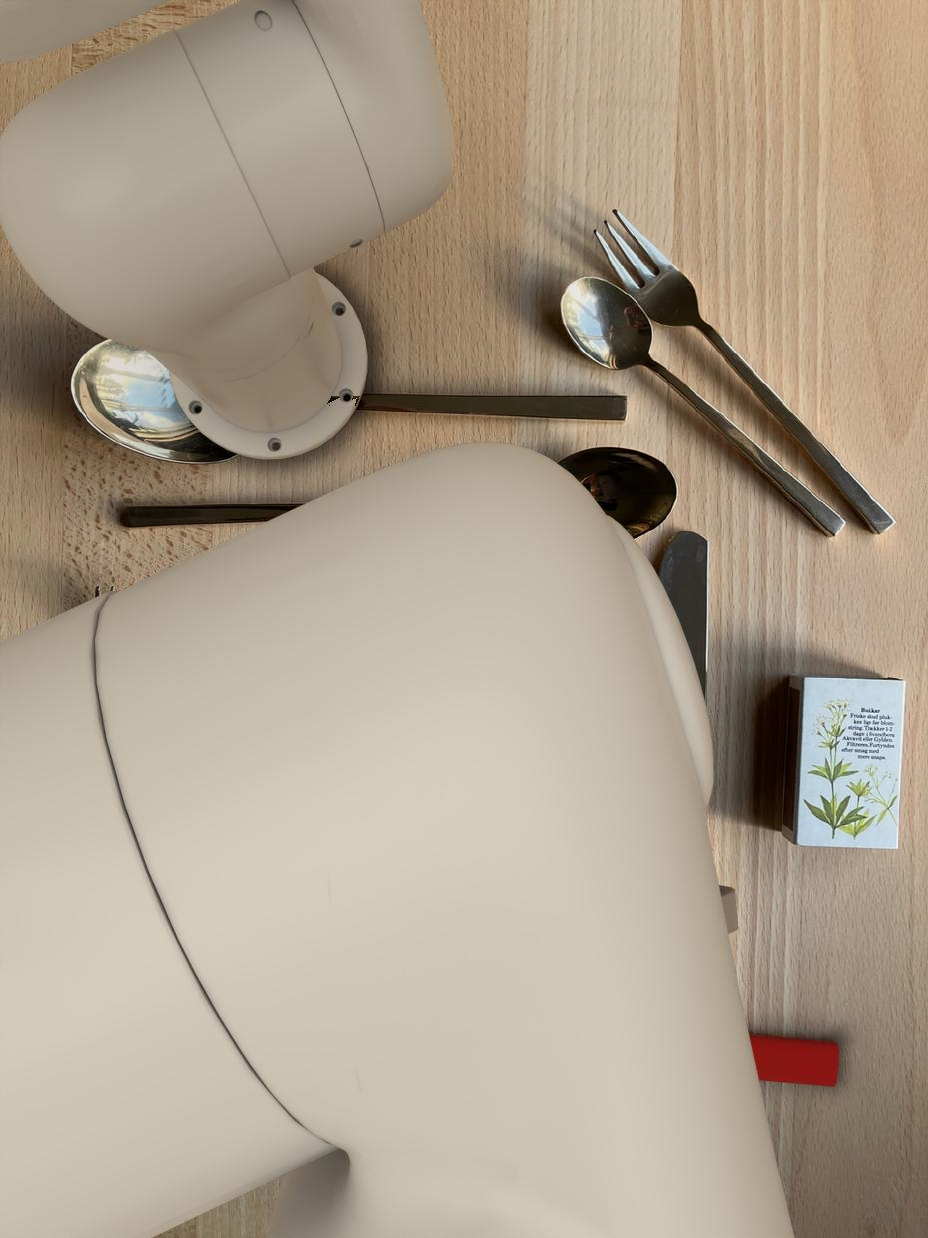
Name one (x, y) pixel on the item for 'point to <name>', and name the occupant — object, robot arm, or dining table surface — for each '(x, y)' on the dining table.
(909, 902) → the dining table surface
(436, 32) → the dining table surface
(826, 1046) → the lighter
